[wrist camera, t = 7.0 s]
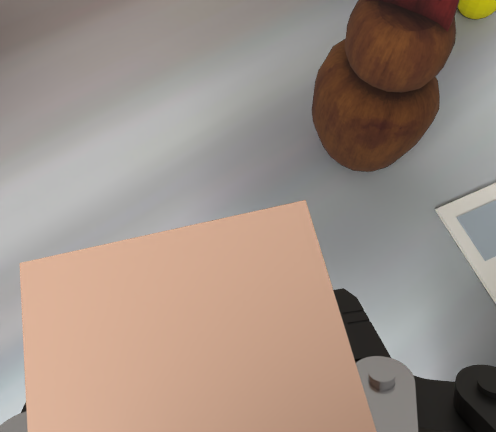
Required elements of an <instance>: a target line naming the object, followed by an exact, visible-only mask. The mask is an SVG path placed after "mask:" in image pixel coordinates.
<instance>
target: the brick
mask: <svg viewBox="0 0 496 432" xmlns="http://www.w3.org/2000/svg"><path fill="white" fill-rule="evenodd" d="M20 281H21V302H22V323H23V344H24V366H25V387H26V408H27V429H28V432H377V431H376V428H375V425H374V422H373V418H372V415H371V412H370V408H369V405H368V402H367V399H366V395H365V392H364V389H363V386H362V382H361V379H360V376H359V373H358V369H357V366H356V363H355V360H354V356H353V353H352V350H351V347H350V343H349V340H348V337H347V334H346V330H345V327H344V324H343V320H342V317H341V314H340V311H339V307H338V304H337V301H336V298H335V294H334V291H333V288H332V285H331V281H330V278H329V275H328V272H327V268H326V265H325V262H324V259H323V255H322V252H321V249H320V246H319V242H318V239H317V236H316V232H315V229H314V226H313V223H312V219H311V216H310V213H309V210H308V206H307V203H306V200H303V201H299V202H294V203H290V204H285V205H281V206H276V207H271V208H267V209H262V210H258V211H253V212H249V213H244V214H240V215H235V216H231V217H226V218H222V219H217V220H213V221H208V222H204V223H199V224H195V225H190V226H185V227H181V228H176V229H172V230H167V231H163V232H158V233H154V234H149V235H145V236H140V237H136V238H131V239H127V240H122V241H118V242H113V243H109V244H104V245H100V246H95V247H90V248H86V249H81V250H77V251H72V252H68V253H63V254H59V255H54V256H50V257H45V258H41V259H36V260H32V261H27V262H23V263H20Z"/></svg>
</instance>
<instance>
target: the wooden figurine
mask: <svg viewBox="0 0 496 432" xmlns="http://www.w3.org/2000/svg"><path fill="white" fill-rule="evenodd" d="M458 3H459V0H358V2H357V4H356V6H355V7H354V9H353V11H352V13H351V15H350V18H349V21H348V24H347V32H346V39H344V40H343V41H341V42H339V43H338V44H336V45H335V46H333V47H332V49H331V51H330V53H329V54H328V56H327V58H326V60H325V61H324V63H323V64H322V66H321V67H320V69H319V70H318V74H317V78H316V81H315V88H314V96H313V105H312V116H313V122H314V125H315V128H316V131H317V133H318V136H319V138H320V140H321V142H322V145H323V147H324V148H325V149H326V151H327V152H328V154H329V155H330V156H331V157H332V158H333V159H334V160H336V161H337V162H338V163H339V164H341V165H343V166H345V167H347V168H349V169H351V170H354V171H366V172H370V171H375V170H378V169H381V168H385V167H388V166H389V165H391V164H392V163H394V162H395V161H396V160H397V159H399V158H400V157H401V156H403V155H404V154H405V153H407V152H408V151H409V150H410V149H411V148H412V147H413V146H415V145H416V144H417V142H418V141H419V140H420V139H421V137H422V136H423V135H424V133H425V132H426V131H427V129H428V128H429V126H430V125H431V123H432V122H433V120H434V118H435V116H436V114H437V112H438V110H439V88H438V80H437V79H436V77H435V76H436V75H437V74H438V73H439V72H440V71H441V69H442V68H443V67H444V65H445V63H446V61H447V59H448V57H449V55H450V53H451V50H452V48H453V46H454V44H455V35H456V27H455V18H454V16H455V13H456V10H457V7H458Z"/></svg>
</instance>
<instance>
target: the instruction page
mask: <svg viewBox="0 0 496 432" xmlns="http://www.w3.org/2000/svg"><path fill="white" fill-rule="evenodd" d="M435 211H436V212H437V214H438V215H439V217H440V219H441V220H442V222H443V223H444V225H445V226H446V228H447V229H448V231H449V233H450V234H451V236H452V237H453V239H454V240H455V242H456V243H457V245H458V247H459V248H460V250H461V251H462V253H463V254H464V256H465V257H466V259H467V261H468V262H469V264H470V265H471V267H472V268H473V270H474V271H475V273H476V275H477V276H478V278H479V279H480V281H481V282H482V284H483V285H484V287H485V289H486V290H487V292H488V293H489V295H490V296H491V298H492V299H493V301H494V302H495V304H496V183H494V184H492V185H490V186H487V187H485V188H483V189H480V190H478V191H476V192H473V193H471V194H469V195H467V196H464V197H462V198H460V199H457V200H455V201H453V202H450V203H448V204H446V205H444V206H441V207H439V208H437V209H435Z"/></svg>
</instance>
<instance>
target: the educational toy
mask: <svg viewBox="0 0 496 432" xmlns="http://www.w3.org/2000/svg"><path fill="white" fill-rule="evenodd" d="M458 9H459V11H460V12H461V14H463V15H464V16H465V17H467V18H470V19H480V18H485V17H487V16H489V15H490V14H492V13H493V12H495V11H496V0H459V3H458Z"/></svg>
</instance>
